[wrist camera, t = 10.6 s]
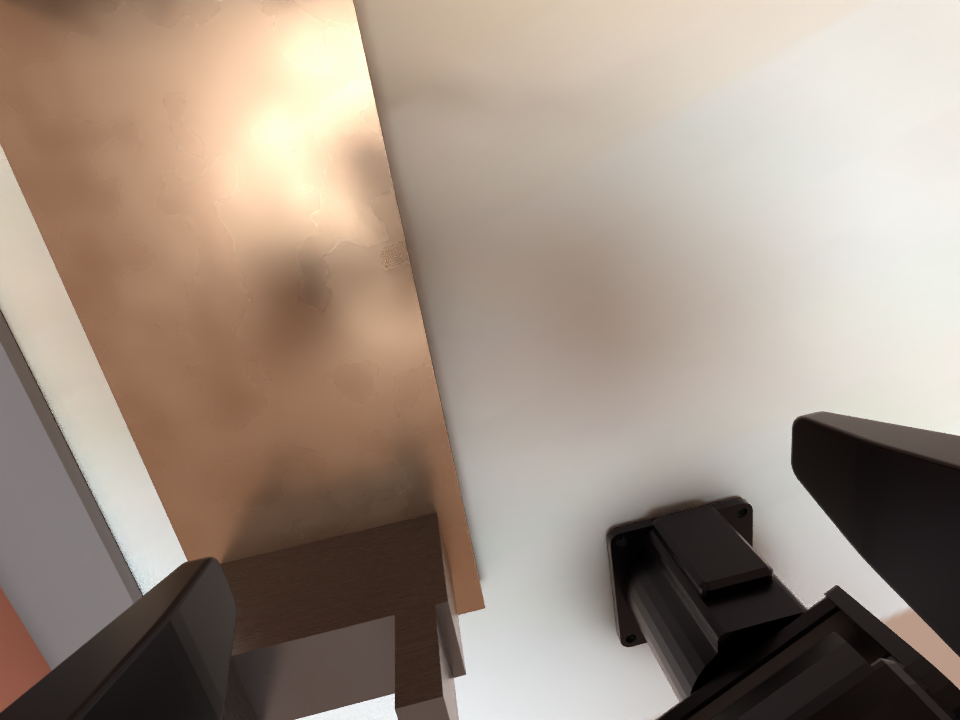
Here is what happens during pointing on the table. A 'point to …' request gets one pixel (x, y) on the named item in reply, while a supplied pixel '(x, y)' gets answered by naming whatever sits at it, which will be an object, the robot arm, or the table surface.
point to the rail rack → (255, 326)
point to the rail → (17, 656)
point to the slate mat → (51, 524)
